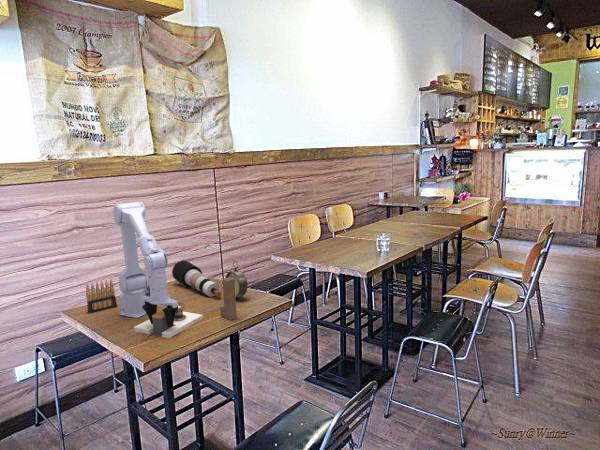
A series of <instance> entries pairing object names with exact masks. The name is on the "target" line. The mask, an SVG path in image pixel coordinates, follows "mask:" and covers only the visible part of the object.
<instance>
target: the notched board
mask: <svg viewBox="0 0 600 450" xmlns="http://www.w3.org/2000/svg"><path fill="white" fill-rule="evenodd" d="M183 315H186V319H185V320H182V321H174V324H173V327H171V328H170V329H168V330H166V331H164V332H162V335H161V337H162V338H166V339H170V338H172V337H174V336H175V335H177V334H180V333H181V332H182V331H184V330H186V329H188V328H190V327H191V326H193V325H195V324H196V323H198V322H200V321H202V320H203V319H204V315H203V314H200V313H196V312H195V313H194V312H188V311H183ZM133 331H134V332H136V333H141V334H145V335H151V334H153V333H154V330H153V324H151V322H150V320H149V319H147V320H145V321H143V322H142V323H140V324H139V323H138V324H137V325H135V326H133Z"/></svg>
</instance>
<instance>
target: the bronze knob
mask: <svg viewBox="0 0 600 450" xmlns="http://www.w3.org/2000/svg"><path fill="white" fill-rule="evenodd" d="M178 306H179V307H178V309H177V311H176V314H175V318H174V321H182V320H185V319H186V315H183V312H184V311H183V309H185V307H186V304H185V303H183V302H178Z"/></svg>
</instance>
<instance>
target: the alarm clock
mask: <svg viewBox="0 0 600 450" xmlns="http://www.w3.org/2000/svg"><path fill="white" fill-rule="evenodd" d="M235 263H236V265H237V267H235V265H234V264H235ZM232 266H233V267H234V270H233V271H229V272H228V271H227V273H226V275H225V278H229V277H230V278H233V279H234V284H235V298H239V299H240V301H241V302H243V296H245V295H246V293H247V291H248V288H249V287H248V280H247V277H246V275H245V273H243V272H242V271H241V270H238V268H239V264H238V262H237V261H236V260H233V262H232Z"/></svg>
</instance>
